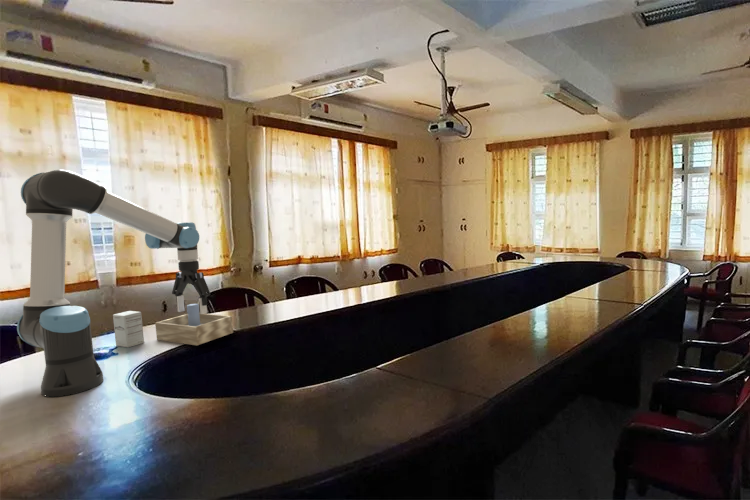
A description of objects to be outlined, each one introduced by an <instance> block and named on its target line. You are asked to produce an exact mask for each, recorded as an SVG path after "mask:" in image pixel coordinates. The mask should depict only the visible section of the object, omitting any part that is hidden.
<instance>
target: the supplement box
mask: <svg viewBox="0 0 750 500" xmlns="http://www.w3.org/2000/svg"><path fill="white" fill-rule="evenodd" d="M112 318H113V319H112V321H113V327H114V328H113V329H114V337H115V339H114V340H115V346H116V347H124V348H131V347H135V346H137V345H141V344H143V343H145V339H144V338H145V337H144V327H143V325H144V324H143V319H142V318H143V317H142V312H141V311H135V310H127V311H122V312H118V313H114V314H112Z"/></svg>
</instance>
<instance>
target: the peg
mask: <svg viewBox="0 0 750 500" xmlns="http://www.w3.org/2000/svg"><path fill="white" fill-rule="evenodd" d="M199 313H200V304H199V303H190V304H187V305H186V314H188V324H189V326H199V325H200V316H199Z"/></svg>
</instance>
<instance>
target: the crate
mask: <svg viewBox="0 0 750 500" xmlns="http://www.w3.org/2000/svg"><path fill="white" fill-rule="evenodd" d="M199 316H200V325H199V326H189V324H188V313H185V314H182V315H179V316H175V317H171V318H168V319H164V320H161V321H160V320H159V321H156V322H155V323H154V324H155V333H156V340H157V341H163V342H164V341H165V342H170V343H171V342H172V343H177V344H178V343H179V344H183V343H184V344H185V345H190V346H191V345H192V346H199V345H202V344H205V343H208V342H210V341H214V340H216V339H219V338H222V337H224V336H229V335H230V334H233V333H234V325H233V323H234V322H233V316H232V315H223V314H222V315H221V314H216V313H215V314H213V313H205V314H200V312H199Z"/></svg>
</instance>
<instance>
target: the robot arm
mask: <svg viewBox="0 0 750 500" xmlns="http://www.w3.org/2000/svg"><path fill="white" fill-rule="evenodd" d="M20 196H21V200H22V201H23V203H24V204H25V215H26V216H27V217H28V218H29V219H30V220H31V243H30V244H31V246H30V278H29V279H30V285H29V286H30V287H29V289H30V291H29V299H28V300H27V301H25V302H24V303H23V306H22V307H23V308H22V311H23V312H22V315H21V316H20V317H19V319H18V321H17V324H16V331H17V335H19V337H20V339H21V340H22V341H23V342H25V343H26V344H28V345H30V346H32V347H35V348H36V347H37V348H42V349H43V354H44V362H45V369H44V373H43V376H42V380H41V385H40V391H41V395H42V394H43V395H46V396H58V397H64V396H63V395H65V396H69V395H70V394H71V395H75V394H79V393H83V392H86V391H87V390H90V389H93V388H96V387H97V386H99V385H101V384H102V383H103V382H104V373H103V371H102V369H101V367H100V365H99V364H98V362H97V360H96V358H95V354H94V346H93V345H94V344H93V337H92V329H91V317H90V315H89V311H88V309H87V308H86V307H84V306H80V305H79V306H78V305H71V302H70V301H69V300H68V299H66V298H65V294H66V293H65V290H66V289H65V288H66V251H67V222H68V221H69V220H71V219H72V218H73V210H78V211H81V212H84V213H86V214H89V215H92V214H97V215H99V216H101V217H105V218H107V219H110V220H111V221H115V222H117V223H120V224H122V225H125V226H127V227H129V228H131V229H134V230H136V231H139V232H142V233H143V234H145V235H144V241H145V244H146V246H147V247H148V248H149V249H152V250H154V249H157V250H158V249H177V251H176V252H177V260H178V263H177V264H178V271H179V272H175V279H174V283H173V286H172V291H171V294H172V295H174V296H175V298H176V299H175V300H176V306H177V313H181V312H185V311H186V309H185V297H184V296H185V295H184V291H185V289H186V288H187V286H188V284H189V285H191V286H193V287H194V289H195V291H196V292H197V293H198V295H199V298H198V300H199V301H198V302H199V303H198V305H199V313H200V314H208V306H207V305H208V299H207V298H208V297H209V296H211V291H210V289H209V286H208V284H207V282H206V280H205V277H204V276H205V275H204V273H203V272H198V270H199V269H200V264H199V263H200V262H199V254H198V243H199V241H200V234H199V231H198V230H197V227H196V223H195V222H191V221H189V222H174V221H172V220H169V219H167V218H166V217H163V216H161V215H159V214H157V213H156V212H152V211H150V210H148V209H146V208H144V207H142V206H139V205H137V204H135V203H134V202H131V201H129V200H127V199H124V198H122V197H121V196H118V195H116V194H115V193H112V192H109V191H108V190H107V187H106V186H104V185H102V184H101V183H98V182H96V181H94V180H92V179H90V178H88V177H86V176H83V175H81V174H79V173H76V172H73V171H71V170H66V169H55V170H54V169H53V170H50V171H48V172H39V173H36V174H34V175H31V176H30V177H29V178H27V179H26V180H25V181H24V182H23V184H22V186H21V188H20ZM43 395H42V396H43ZM71 395H70V396H71ZM46 396H45V397H46Z"/></svg>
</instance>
